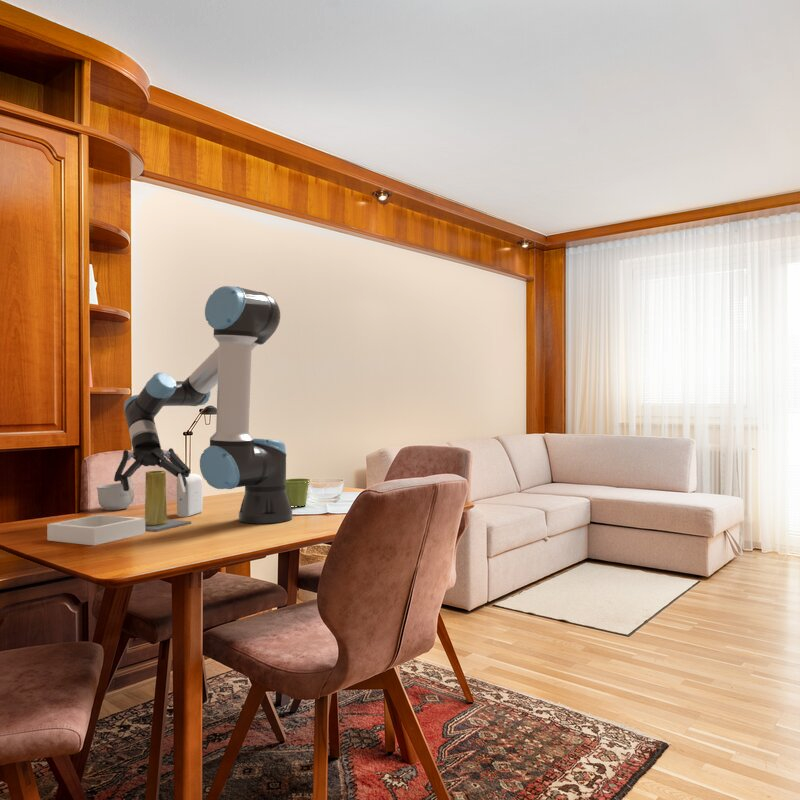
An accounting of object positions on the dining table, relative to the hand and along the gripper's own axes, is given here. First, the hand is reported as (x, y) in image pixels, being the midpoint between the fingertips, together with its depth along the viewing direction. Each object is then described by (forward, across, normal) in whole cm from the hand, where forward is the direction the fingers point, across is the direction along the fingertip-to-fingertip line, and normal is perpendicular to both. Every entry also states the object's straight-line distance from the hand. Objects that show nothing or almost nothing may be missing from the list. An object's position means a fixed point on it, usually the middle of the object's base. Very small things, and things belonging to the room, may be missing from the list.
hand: (158, 497), depth 186 cm
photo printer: (-6, -14, -18) cm, 23 cm away
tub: (+10, +16, -2) cm, 19 cm away
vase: (+4, 0, -7) cm, 8 cm away
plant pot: (-3, -47, -15) cm, 49 cm away
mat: (+4, 0, -7) cm, 8 cm away
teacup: (-25, +2, -37) cm, 44 cm away
